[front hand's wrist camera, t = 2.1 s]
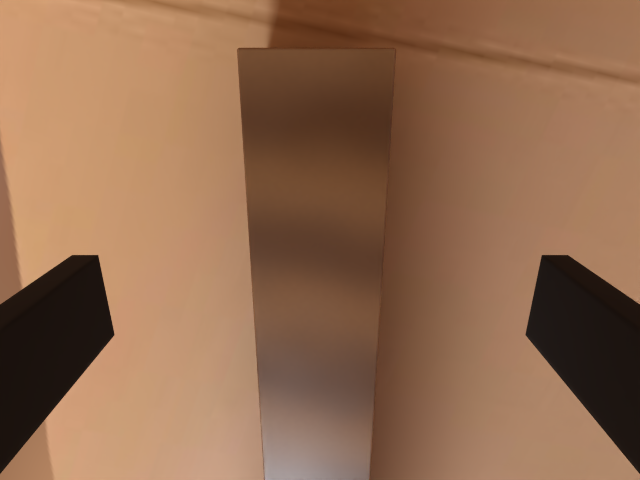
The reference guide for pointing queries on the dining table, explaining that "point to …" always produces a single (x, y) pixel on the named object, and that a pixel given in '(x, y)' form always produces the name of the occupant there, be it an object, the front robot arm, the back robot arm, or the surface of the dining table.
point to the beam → (316, 249)
